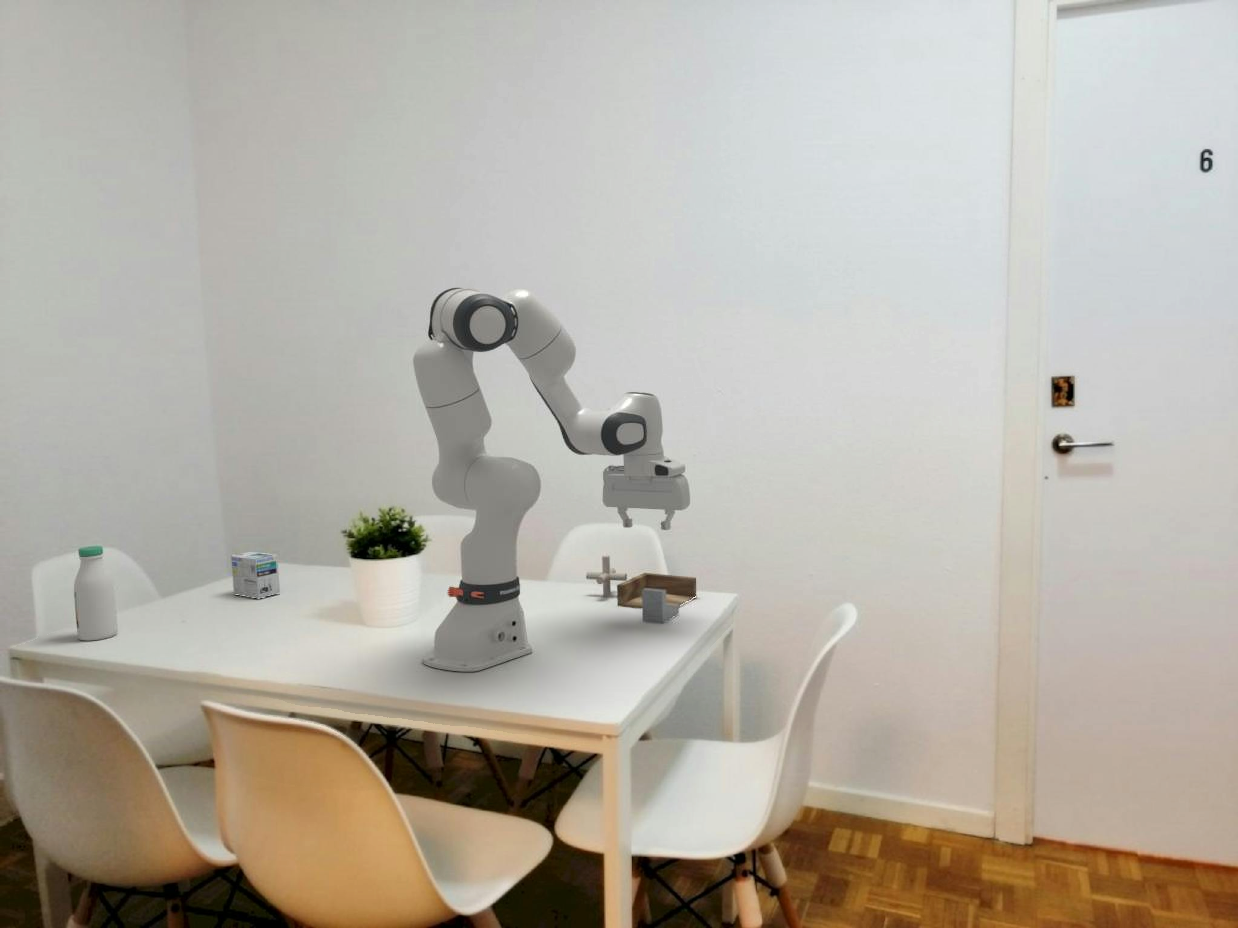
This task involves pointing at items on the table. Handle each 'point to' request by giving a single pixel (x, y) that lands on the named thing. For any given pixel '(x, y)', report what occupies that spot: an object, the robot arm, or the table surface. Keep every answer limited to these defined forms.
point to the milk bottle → (94, 597)
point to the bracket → (656, 606)
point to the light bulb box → (255, 574)
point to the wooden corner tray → (675, 587)
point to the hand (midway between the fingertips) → (646, 528)
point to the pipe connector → (606, 576)
